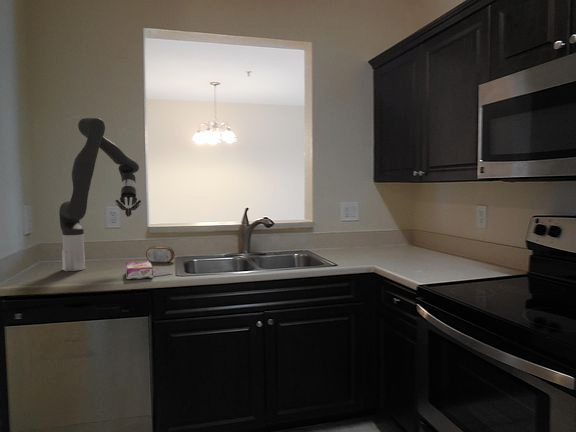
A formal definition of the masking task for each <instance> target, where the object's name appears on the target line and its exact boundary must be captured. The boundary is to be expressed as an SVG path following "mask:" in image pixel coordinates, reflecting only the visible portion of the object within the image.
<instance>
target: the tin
mask: <svg viewBox="0 0 576 432" xmlns="http://www.w3.org/2000/svg"><path fill="white" fill-rule="evenodd" d="M145 258H146V259H147V261H150V262H151V263H159V264H160V263H161V264H164V263H165V264H167V263H169V262H172V261H173V260H174V258H175V250H174V249H173V248H171V247H169V246H156V245H155V246H151V247H149V248H148V249H147V250H146V252H145Z"/></svg>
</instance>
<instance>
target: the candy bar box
mask: <svg viewBox="0 0 576 432" xmlns="http://www.w3.org/2000/svg"><path fill="white" fill-rule="evenodd" d="M153 272H154V267H153V264H152V262H150V261H149V260H147V261H145V260H143V261H142V260H141V261H128V262H127V261H126V262H125V276H126V280H132V279H133V280H135V279H137V280H139V279H138V278H143V279H148V278H149V279H152V278H154V277H153Z"/></svg>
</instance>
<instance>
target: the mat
mask: <svg viewBox="0 0 576 432" xmlns="http://www.w3.org/2000/svg"><path fill="white" fill-rule="evenodd" d="M169 275H171V276H172V275H173V273H172V272H170V271H167V270H163V269H161V270H156V271H154V270H153V278H156V277H162V276H163V277H164V276H169ZM141 279H142V280H143V279H144V278H138V279H134V280H141Z"/></svg>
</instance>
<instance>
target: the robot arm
mask: <svg viewBox="0 0 576 432" xmlns="http://www.w3.org/2000/svg"><path fill="white" fill-rule="evenodd" d="M77 125H78V126H77V127H78V130H79V132H80V133H81V135H83V136H84V137H85V138H86V142H85V144H84V146H83V147H82V148H81V150H80V152H79V153H78V154H77V155H76V156H75V159H74V162H73V165H72V170H71V182H72V192H71V193H72V194H71V197H70V200H66V201H63V203H62V204H61V205H60V208H59V210H58V211H59V213H58V215H59V226H60V229H61V233H62V250H61V260H62V262H61V263H62V265H61V266H62V270H63V271H65V272H77V271H82V270H85V269H86V260H85V258H86V256H85V254H86V252H85V231H84V227H83V226H82V225H81V223H80V221H81V220H82V219H83V218H84V217H85V215H86V213H87V209H88V208H87V207H88V198H89V192H90V189H91V183H92V179H93V175H94V171H95V167H96V162H97V157H98V154H99V149H100V150H101V151H102V152H104V153H105V154H106V156H108V157H109V158H110V159H111V161H113V162H114V163H115V164H116V165H119V166H118V169H117V170H118V172H119V175H120V177H121V185H120V198H119V199H116V200H115V205H116V206H118V208H119V209H121V210H122V211H125V214H124V215H125V216H126V217H128V218H129V217H131V216H132V211H136V210H137V209H138V208H139V207H140V206H141V205H142V200H141V199H138V197H137V185H136V179H137V178H136V176H135V173H137V172H138V171H139V170H140V166H139V164H138V162H137V161H136V160H135V159H133V158H132V157H130V156H129V155H127V154H126V153H125V152H124V151H123V150H122V149H121V147H119V146H118V145H117V144H116V143H114V142H112V141H111V140H110V139H107V138H106V137H105V136H104V135H105V131H106V125H105V121H103V119H101V118H99V117H84V118H81V119H80V120H79V121H78V124H77Z"/></svg>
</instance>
